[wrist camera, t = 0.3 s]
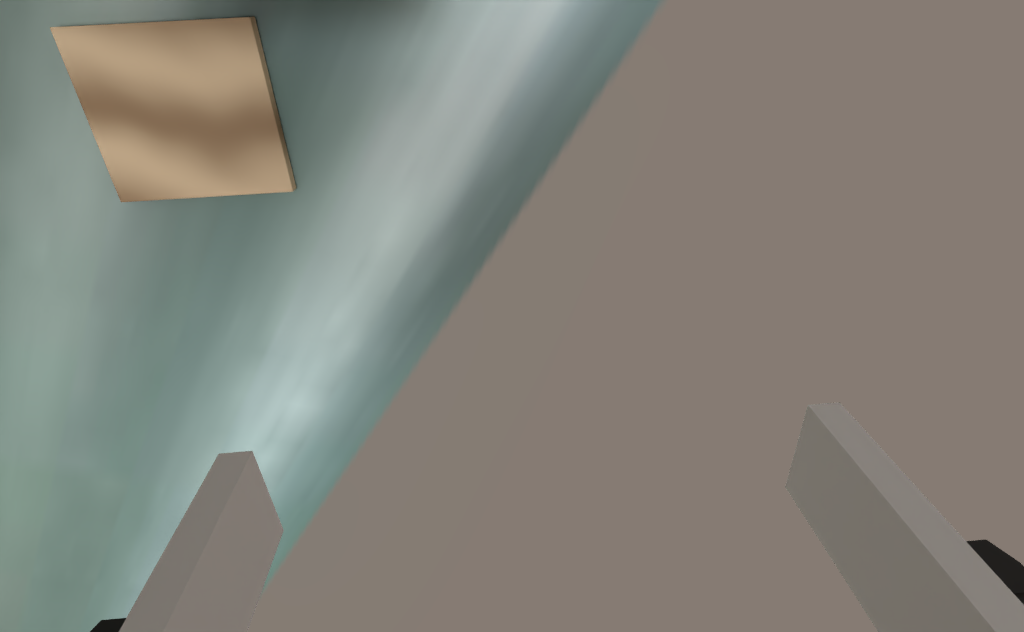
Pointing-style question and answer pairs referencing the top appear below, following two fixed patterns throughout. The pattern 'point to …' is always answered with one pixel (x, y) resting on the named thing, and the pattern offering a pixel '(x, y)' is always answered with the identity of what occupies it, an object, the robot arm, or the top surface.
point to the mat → (179, 107)
